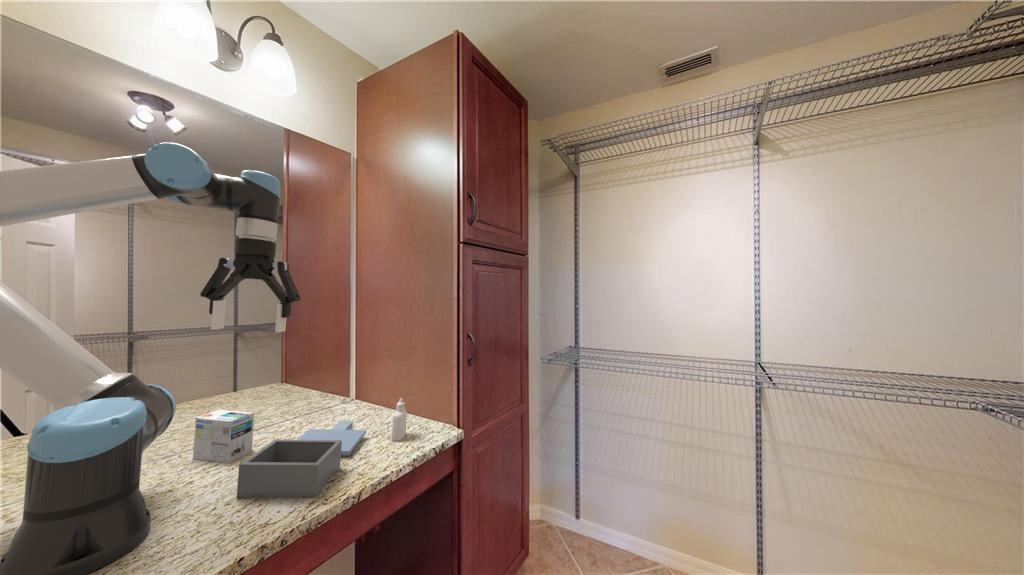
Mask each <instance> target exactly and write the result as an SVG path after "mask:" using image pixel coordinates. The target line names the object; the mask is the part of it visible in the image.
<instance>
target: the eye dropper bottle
mask: <svg viewBox="0 0 1024 575" xmlns="http://www.w3.org/2000/svg"><path fill="white" fill-rule="evenodd" d="M405 405H406V402H404V400H403V398H399V401H398V402H397V403H396V408H395V409H396V410H395V412H394V413H393V416H392V427H391V428H392V429H391V440H392V441H393V442H400V441H401V440H403V439H404V438H405V436H406V431H407V420H408V419H407V418H408V417H407V416H408V415H407V414H408V412H407V410H406V408H405V407H406V406H405Z"/></svg>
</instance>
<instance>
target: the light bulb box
mask: <svg viewBox="0 0 1024 575" xmlns="http://www.w3.org/2000/svg"><path fill="white" fill-rule="evenodd" d="M254 423H255V411H254V412H251V411H237V410H227V409H217V410H215V411H211V412H209V413H206V414H201V415H199V416H196V417H195V425H194V440H193V453H192V460H198V461H208V462H215V463H223V464H231V463H232V462H234V461H236V460H238V459H241V458H242V457H244V456H246V455H248V454H250V453H252V451H253V440H254V439H253V437H254V427H255V426H254Z"/></svg>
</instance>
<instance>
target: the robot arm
mask: <svg viewBox="0 0 1024 575" xmlns="http://www.w3.org/2000/svg"><path fill="white" fill-rule="evenodd" d="M161 199H166V200H168V201H170V202H172V203H177V204H178V203H179V204H184V205H185V206H195V207H205V208H212V209H218V210H226V211H231V212H237V220H236V228H235V230H236V231H235V235H236V236H237V237H236V239H235V241H234V243H235V244H234V254H235V258H234V259H232V258H226V257H220V258H219V259H218V263H217V267H216V269H214V272H213V273H212V275H211V277H210V278H209V280H207V283H206V284H205V286H204V287H203V289H202V290H201V292H200V297H202V298H206V299H208V300H209V308H208V309H209V310H208V313H209V315H211V325H210V330H222V329H225V320H226V306H227V300H225V297H226V296H227V295H228V294H229V293H230V292H231V291H232V290H233V289H235V288H236V287H237V286H238V284H240V283H241V282H243V281H244V280H262V282H265V285H267V286H268V288H269V289H270V290H271V291H272V293H273V294H274V295H275V297H276V298H277V299H278V300H279V301H280V303H277V305H276V315H275V316H276V318H275V329H274V333H283V332H286V331H287V330H286V328H287V318H290V317H291V313H292V312H291V311H292V304H293V303H296V302H300V301H301V300H302V298H301V296H300V294H299V291H298V289H297V287H296V285H295V282H294V279H293V277H292V275H291V273H290V266H289V263H288V262H287V261H286V262H285V261H277V262H275V257H276V251H277V244H276V243H275V241H277V239H278V238H277V236H278V227H279V226H278V223H279V216H280V205H281V181H280V180H279V178H278V177H275V175H272V174H269V173H267V172H263V171H259V170H250V169H246V170H242V171H241V174H240V176H239V177H237V176H236V177H234V176H233V177H232V176H228V175H222V174H217V173H215V172H214V171H213V170H212V169H211V167H210V165H209V163H207V161H206V160H205V159H204V158H203V157H202V156H200V155H199V154H198V153H197V152H195V151H194V150H193V149H192V148H189V147H188V146H185V145H182V144H180V143H175V142H160V143H157V144H155V145H153V146H151V147H150V148H148V149H147V150H146V152H145V153H141V154H133V155H128V156H127V155H126V156H118V157H109V158H101V159H93V160H91V159H90V160H84V161H74V162H65V163H58V164H49V165H41V166H39V165H38V166H33V167H24V168H23V167H22V168H14V169H6V170H0V227H6V226H11V225H17V224H21V223H22V224H23V223H29V222H34V221H40V220H45V219H50V218H51V219H52V218H56V217H62V216H68V215H69V216H70V215H75V214H80V213H85V212H92V211H95V210H96V211H97V210H102V209H108V208H113V207H119V206H124V205H126V206H127V205H130V204H137V203H143V202H148V201H153V200H161ZM233 268H235V269H234V270H233V272H231V270H232V269H233ZM274 270H275V271H277V274H278V275H279V278H280V281H281V283H282V285H283V286H282V285H281V283H280V282H279V281H278V279H277V277H276V276H275V274H274V273H273V271H274ZM230 272H231V273H230ZM229 273H230V274H229ZM228 275H229V277H228ZM227 277H228V278H227ZM226 278H227V279H226ZM0 370H1V371H3V372H4V373H5V374H7V375H8V376H10V377H11V378H13V379H14V380H15V381H17V382H18V383H20V384H21V385H23V386H24V387H25V388H27V389H28V390H29V391H31V392H32V393H34V394H35V395H36V396H38V397H39V398H41V399H42V400H43V401H45V402H46V403H48V404H49V405H50V406H52V408H53V411H52V412H50V413H48V414H47V415H45V416H43V417H41V419H39V420H38V421H37V422H36V423H35V425H34V426H33V428H32V430H31V433H30V434H31V435H30V438H29V441H28V443H27V444H26V451H27V461H26V462H27V463H26V475H25V486H24V487H25V488H24V500H23V511H22V512H23V513H22V522H21V524H19V525H20V526H19V527H18V529H17V531H16V533H15V535H14V537H13V539H12V541H11V543H10V545H9V548H8V551H7V552H6V553H5V554H4V555H3V556H2V557H1V559H0V575H88V574H90V573H92V572H95V571H96V569H97V570H99V569H100V568H101V569H102V568H103V567H105V566H107V565H109V564H111V563H113V562H114V561H116V560H118V559H120V558H121V557H123V556H125V555H126V554H128V553H130V551H132V550H134V549H135V548H136V547H137V546H138V545H140V543H142V542H143V541H144V540H145V539H146V537H147V536H148V534H149V533H150V530H151V524H152V521H151V520H152V516H151V512H150V510H149V508H147V506H146V502H145V500H144V499H145V498H144V497H143V495H142V492H141V490H140V481H141V473H142V472H141V471H142V460H143V459H142V458H143V453H144V452H145V450H147V448H148V447H149V446H151V444H152V443H153V442H154V441H155V440H156V439H158V437H160V436H161V435H163V433H165V431H166V430H167V429H168V428H169V426H170V424H171V423H172V421H173V419H174V416H175V414H176V411H177V403H176V400H175V397H174V396H173V395H172V393H171V392H170V391H169V390H167V389H166V388H165V387H162V386H159V385H155V384H146V383H145V382H143V380H141V379H140V378H138V377H137V376H136V375H135V374H133V373H132V372H116V371H114V370H112V369H111V368H110V367H109V366H107V365H106V364H105V363H104V362H102V361H101V360H100V359H99V358H97V357H96V356H95V355H93V354H92V353H91V352H90V351H89V350H87V349H86V348H84V347H83V346H82V345H81V344H80V343H78V342H77V341H76V340H75V339H73V338H72V337H71V336H70V335H69V334H67V333H66V332H64V330H62V329H61V328H60V327H59V326H57V325H56V324H55V323H53V322H52V321H51V320H50V319H49V318H47V317H46V316H45V315H43V313H41V312H40V311H38V310H37V309H36V308H35V307H33V306H32V305H31V304H30V303H29V302H28V301H26V300H25V299H23V297H21V296H20V295H19V294H17V292H15V291H14V290H13V289H11V288H10V287H9V286H7V285H6V284H5V283H4V282H2V281H1V280H0Z"/></svg>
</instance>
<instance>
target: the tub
mask: <svg viewBox="0 0 1024 575" xmlns="http://www.w3.org/2000/svg"><path fill="white" fill-rule="evenodd" d="M341 446H342V440H297V439H280V438H279V439H276V438H275V439H273V440H271V442H269V443H268V444H266V446H265V445H264V447H262V448H260V449H259V450H257V452H255V453H253V454H252V455H251V456H249V457H248V458H246V459H245V460H244V461H242V462H241V463H240V464H238V475H237V488H236V489H237V490H236V499H293V498H294V499H302V498H303V499H304V498H305V499H307V498H308V499H316V498H317V497H318V496H319V494H320V493H321V492H322V491H323V490H324V488H326V486H327V485H328V484H329V483H330V481H331V480H332V479H333V477H335V475H336V474H337V473H338V472H339V470H340V469H341V461H342V460H341V457H342V455H341Z"/></svg>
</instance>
